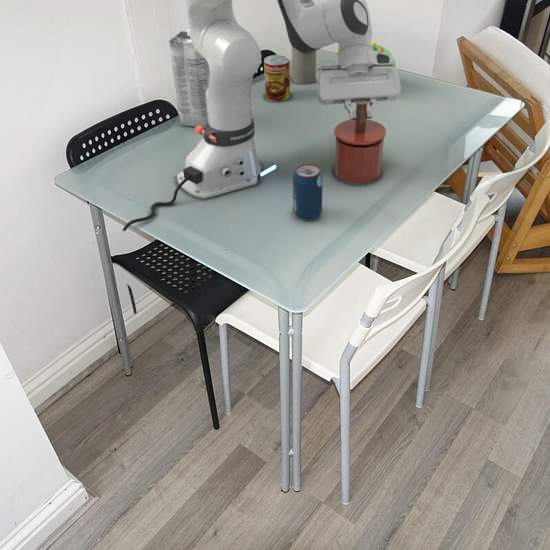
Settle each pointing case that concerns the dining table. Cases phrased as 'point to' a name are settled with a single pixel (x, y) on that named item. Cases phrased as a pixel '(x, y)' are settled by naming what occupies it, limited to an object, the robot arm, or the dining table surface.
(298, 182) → the soda can
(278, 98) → the canned food
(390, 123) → the dining table surface
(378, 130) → the lid
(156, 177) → the dining table surface
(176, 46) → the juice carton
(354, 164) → the pot
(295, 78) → the thermos bottle
